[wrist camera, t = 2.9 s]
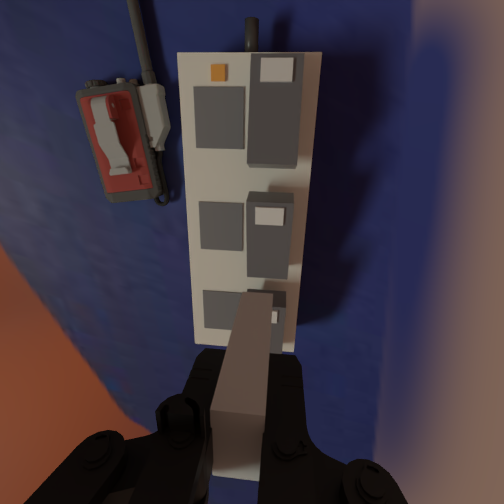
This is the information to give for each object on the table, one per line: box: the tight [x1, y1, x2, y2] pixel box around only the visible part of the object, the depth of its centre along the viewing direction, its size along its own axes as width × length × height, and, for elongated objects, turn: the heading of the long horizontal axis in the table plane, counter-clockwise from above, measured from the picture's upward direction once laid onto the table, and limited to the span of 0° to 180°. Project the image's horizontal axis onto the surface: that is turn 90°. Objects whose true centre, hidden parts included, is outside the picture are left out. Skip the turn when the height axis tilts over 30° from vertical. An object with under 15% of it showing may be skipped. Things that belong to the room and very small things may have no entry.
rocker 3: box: [247, 289, 286, 354], centre depth 30 cm, size 8×4×3 cm, turn 178°
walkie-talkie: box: [75, 0, 171, 206], centre depth 29 cm, size 9×4×20 cm
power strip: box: [177, 17, 322, 352], centre depth 30 cm, size 33×12×5 cm, turn 179°
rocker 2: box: [246, 191, 294, 280], centre depth 26 cm, size 8×4×3 cm, turn 178°
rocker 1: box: [247, 53, 305, 169], centre depth 23 cm, size 8×4×3 cm, turn 179°
